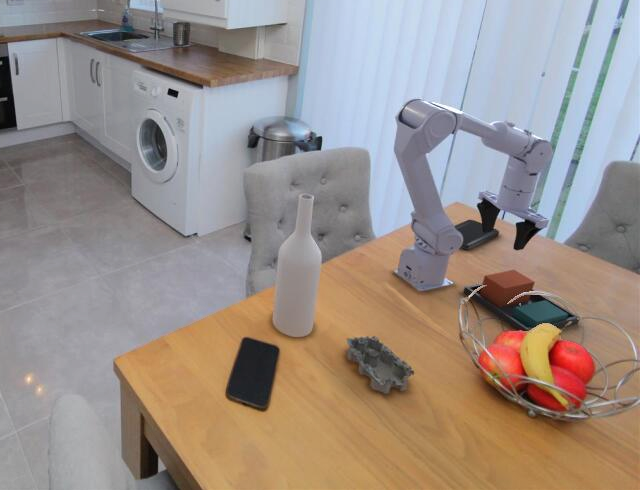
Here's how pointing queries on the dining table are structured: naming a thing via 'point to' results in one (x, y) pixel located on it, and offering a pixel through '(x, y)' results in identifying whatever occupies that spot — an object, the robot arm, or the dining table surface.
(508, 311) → the pad tray
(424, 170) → the robot arm
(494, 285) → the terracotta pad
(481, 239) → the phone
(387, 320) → the dining table surface
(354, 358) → the egg carton
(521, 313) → the teal pad
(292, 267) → the bottle
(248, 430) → the dining table surface
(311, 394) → the dining table surface
